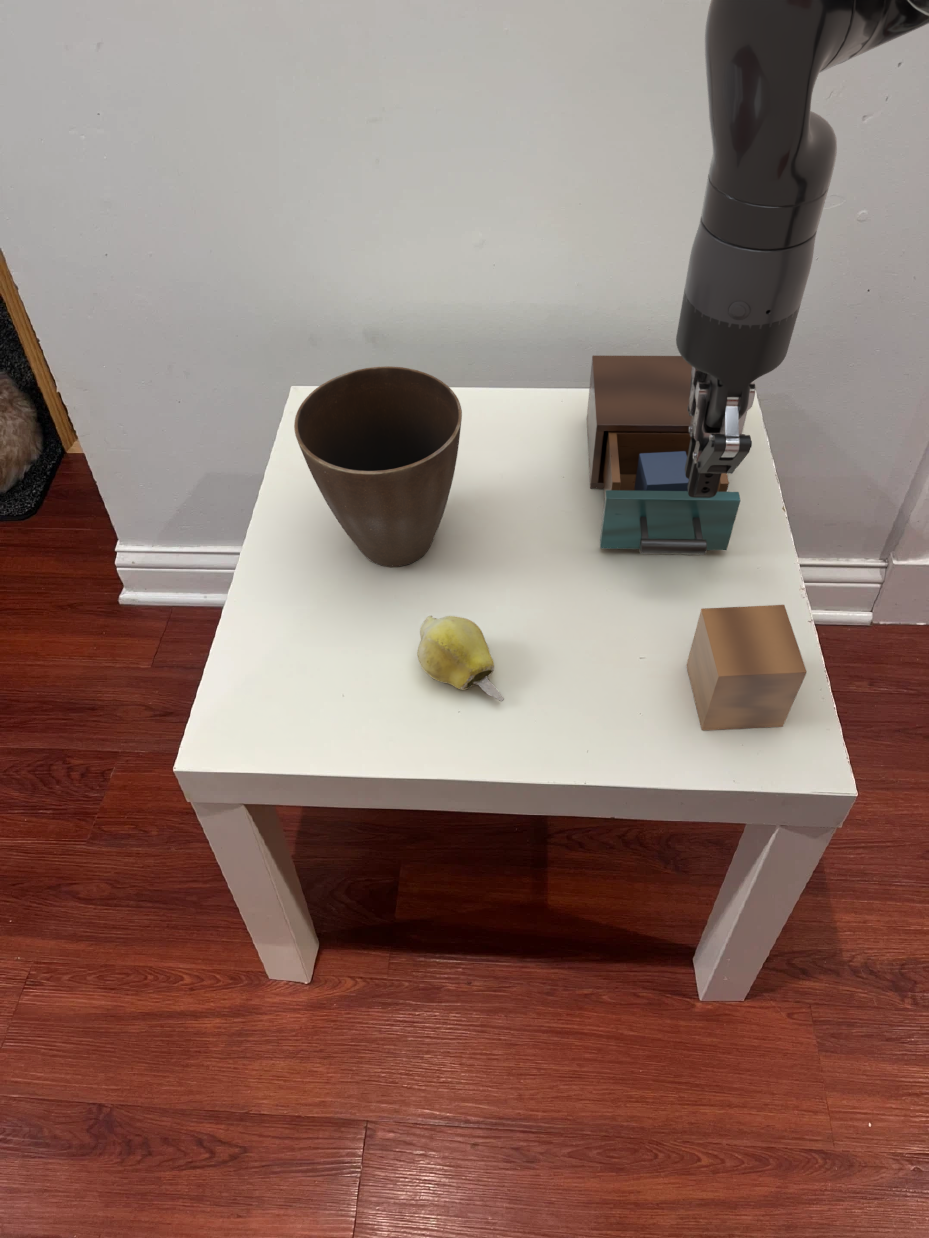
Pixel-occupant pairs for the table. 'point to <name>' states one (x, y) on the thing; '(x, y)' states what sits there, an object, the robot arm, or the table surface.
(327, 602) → the table surface
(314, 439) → the flower pot
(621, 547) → the drawer
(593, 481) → the cabinet
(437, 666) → the fruit
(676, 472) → the block
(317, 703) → the table surface
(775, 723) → the cube
